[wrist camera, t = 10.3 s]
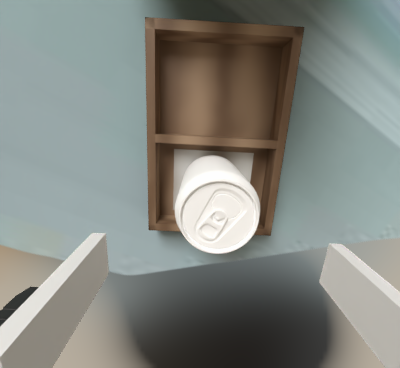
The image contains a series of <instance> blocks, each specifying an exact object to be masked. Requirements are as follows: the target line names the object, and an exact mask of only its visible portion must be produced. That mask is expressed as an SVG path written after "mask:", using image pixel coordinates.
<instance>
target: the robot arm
mask: <svg viewBox="0 0 400 368" xmlns="http://www.w3.org/2000/svg"><path fill="white" fill-rule="evenodd" d="M108 274H109V268H108V255H107V243H106V233H92V234H91V235H90V236H89V237H88V238H87V239H86V240H85V241H84V242H83V243H82V244H81V245H80V246H79V247H78V248H77V249H76V250H75V251H74V252H73V253H72V254H71V255H70V256H69V257H68V258H67V259H66V260H65V261H64V262H63V263H62V264H61V265H60V267H58V268H57V269H56V270H55V271H54V272H53V273H52V274H51V275H50V277H49V278H48V279H47V280H46V281H45V282H44V283H43V284H42V285H41V286H40V287H30V288H28V289H26V290H25V291H23V292H22V293H20V294H18V295H17V296H15V297H14V298H13V299H12V300H11V301H10V302H9V303H8V304H7V305H6V306H5V307H4V308H3V310H0V368H52V367H53V366H54V364H55V362H56V361H57V359H58V357H59V356H60V354H61V352H62V351H63V349H64V347H65V346H66V344H67V342H68V341H69V339H70V337H71V336H72V334H73V332H74V331H75V329H76V327H77V326H78V324H79V322H80V321H81V319H82V317H83V316H84V314H85V312H86V311H87V309H88V307H89V306H90V304H91V302H92V301H93V299H94V297H95V296H96V294H97V293H98V291H99V289H100V287H101V286H102V284H103V283H104V281H105V279H106V277H107V276H108ZM319 282H320V284H321V285H322V286H323V287H324V289H325V290H326V292H327V293H328V294H329V295H330V297H331V298H332V299H333V301H334V302H335V303H336V304H337V306H338V307H339V308H340V310H341V311H342V312H343V313H344V315H345V316H346V317H347V318H348V320H349V321H350V323H351V324H352V325H353V327H354V328H355V329H356V330H357V332H358V333H359V334H360V336H361V337H362V338H363V339H364V341H365V342H366V343H367V345H368V346H369V347H370V349H371V350H372V351H373V352H374V354H375V355H376V356H377V358H378V359H379V360H380V362H381V363H382V364H383V365H384V367H385V368H400V292H399V291H398V290H397V289H396V288H394V287H393V286H392V285H390V284H389V283H388V282H387V281H386V280H385V279H383V278H382V277H381V276H380V275H379V274H377V273H376V272H375V271H374V270H372V269H371V268H370V267H369V266H368V265H366V264H365V263H364V262H363V261H362V260H360V259H359V258H358V257H357V256H356V255H354V254H353V253H352V252H351V251H350V250H348V249H347V248H346V247H345V246H344V245H342V244H329V246H328V250H327V254H326V258H325V262H324V266H323V270H322V273H321V277H320V281H319Z"/></svg>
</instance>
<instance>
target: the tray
mask: <svg viewBox="0 0 400 368" xmlns="http://www.w3.org/2000/svg"><path fill="white" fill-rule="evenodd" d="M303 32H304V27H294V26H278V25H262V24H245V23H229V22H213V21H197V20H181V19H164V18H148V17H145V43H146V101H147V158H148V215H149V230H160V231H180V229H179V227H178V225H177V222H176V218H175V203H176V199H177V196H178V193H179V190H180V186H181V183H182V180H183V176H184V174H185V171H186V169H187V168H188V166H189V165H190V164H191V163H192V162H193V161H195V160H196V159H198V158H200V157H203V156H207V155H217V156H221V157H224V158H226V159H227V160H229V161H230V162H231V163H232V164H233V165H234V166H235V167H236V168H237V169H238V170H239V171H240V173H241V174H242V175H243V176H244V177H245V178H246V179H247V181H248V182H249V183H250V184H251V185H252V186H253V188H254V189H255V191H256V193H257V195H258V198H259V202H260V217H259V223H258V226H257V229H256V231H255V233H254V235H268V236H270V235H271V229H272V223H273V217H274V211H275V205H276V198H277V192H278V186H279V180H280V174H281V168H282V161H283V155H284V149H285V143H286V137H287V131H288V124H289V118H290V112H291V106H292V100H293V94H294V87H295V81H296V75H297V69H298V63H299V57H300V51H301V44H302V38H303Z"/></svg>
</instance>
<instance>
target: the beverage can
mask: <svg viewBox="0 0 400 368" xmlns="http://www.w3.org/2000/svg"><path fill="white" fill-rule="evenodd" d="M259 217H260V202H259V198H258V195H257V193H256V191H255V189H254V188H253V186H252V185H251V184H250V183H249V182H248V181H247V179H246V178H245V177H244V176H243V175H242V174H241V173H240V171H239V170H238V169H237V168H236V167H235V166H234V165H233V164H232V163H231V162H230V161H229V160H227V159H226V158H224V157H221V156H217V155H207V156H203V157H200V158H198V159H196V160H195V161H193V162H192V163H191V164H190V165H189V166H188V168H187V169H186V171H185V174H184V176H183V180H182V183H181V186H180V190H179V193H178V196H177V199H176V203H175V218H176V222H177V225H178V227H179V229H180V231H181V233H182V234H183V235H184V237H185V238H186V240H187V241H188V242H189V243H190V244H191V245H193V246H194V247H196V248H197V249H199V250H201V251H204V252H207V253H213V254H222V253H228V252H232V251H234V250H237V249H239V248H240V247H242V246H243V245H245V244H246V243H247V242H248V241H249V240H250V239H251V238H252V236H253V235H254V233H255V231H256V229H257V226H258V223H259Z"/></svg>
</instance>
